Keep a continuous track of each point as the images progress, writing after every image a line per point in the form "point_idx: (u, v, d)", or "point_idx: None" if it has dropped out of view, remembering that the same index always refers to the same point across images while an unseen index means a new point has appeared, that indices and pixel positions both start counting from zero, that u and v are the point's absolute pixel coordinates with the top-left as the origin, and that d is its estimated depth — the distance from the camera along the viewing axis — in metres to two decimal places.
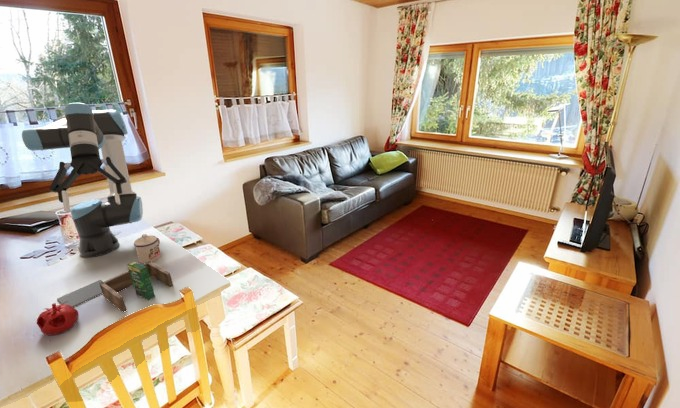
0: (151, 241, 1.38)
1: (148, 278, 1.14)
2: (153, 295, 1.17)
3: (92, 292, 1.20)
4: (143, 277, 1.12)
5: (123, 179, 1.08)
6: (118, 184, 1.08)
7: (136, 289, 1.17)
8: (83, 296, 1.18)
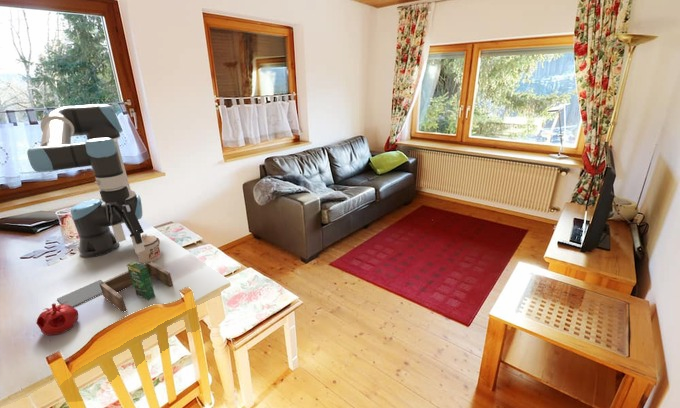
0: (151, 241, 1.38)
1: (148, 278, 1.14)
2: (153, 295, 1.17)
3: (92, 292, 1.20)
4: (143, 277, 1.12)
5: (134, 234, 1.02)
6: (134, 236, 1.03)
7: (136, 289, 1.17)
8: (83, 296, 1.18)
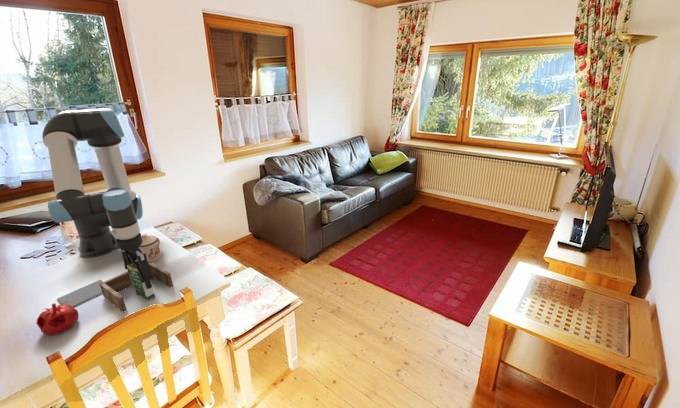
0: (151, 241, 1.38)
1: None
2: (153, 295, 1.17)
3: (92, 292, 1.20)
4: None
5: (145, 281, 1.10)
6: (145, 282, 1.12)
7: (136, 289, 1.17)
8: (83, 296, 1.18)
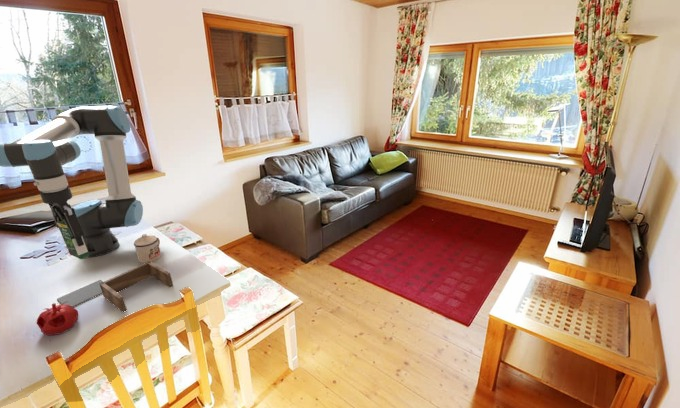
0: (151, 241, 1.38)
1: None
2: (87, 254, 1.12)
3: (92, 292, 1.20)
4: None
5: (75, 237, 1.05)
6: (75, 238, 1.07)
7: (69, 248, 1.12)
8: (83, 296, 1.18)
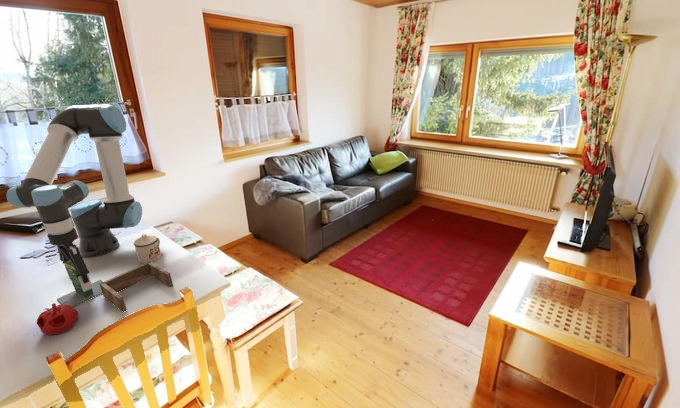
0: (151, 241, 1.38)
1: None
2: (91, 292, 1.18)
3: None
4: None
5: (80, 275, 1.09)
6: (81, 276, 1.11)
7: (74, 286, 1.18)
8: (83, 296, 1.18)
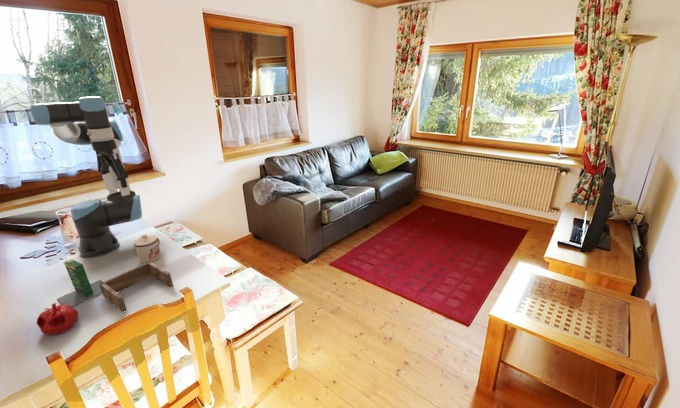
0: (151, 241, 1.38)
1: (85, 275, 1.15)
2: (91, 292, 1.18)
3: None
4: (79, 274, 1.14)
5: (120, 178, 1.21)
6: (121, 180, 1.23)
7: (74, 286, 1.18)
8: (83, 296, 1.18)
